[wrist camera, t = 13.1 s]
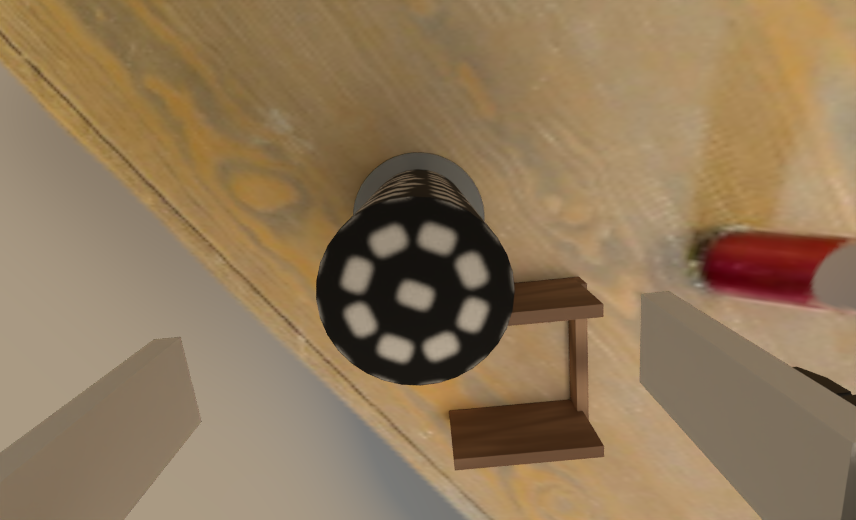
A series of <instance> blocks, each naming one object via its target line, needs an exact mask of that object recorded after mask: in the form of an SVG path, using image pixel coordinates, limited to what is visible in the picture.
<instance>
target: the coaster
mask: <svg viewBox="0 0 856 520" xmlns="http://www.w3.org/2000/svg"><path fill="white" fill-rule="evenodd" d="M415 169H421V170H429V171H433V172H437V173H439V174H441V175H443V176H445V177H446V178H448V179H449V180H450V181H451V182H453V183H454V184H455V186H456V187H457V188H458V189H459V190H460V191H461V193H462V194H463V195H464V196H465V198H466V199H467V200H468V201H469V203H470V204H471V205H472V206H473V208H474V209H475V210H476V211H477V213H478V214H479V215H480V216H481V218H482V219H483V220H484V208H483V203H482V199H481V196H480V194H479V191H478V189H477V187H476V185H475V184H474V182H473V181H472V179H471V178H470V177H469V176H468V174H467V173H466V172H465V171H464V170H463V169H462V168H460V167H459V166H458V165H456V164H455V163H453V162H451V161H450V160H448V159H446V158H443V157H441V156H438V155H434V154H430V153H408V154H403V155H399V156H396V157H394V158H392V159H389V160H387V161H386V162H384V163H382V164H381V165H379V166H378V167H377V168H376V169H375V170H373V171H372V172H371V174H370V175H369V176H368V177H367V178H366V180H365V181H364V182H363V184H362V186H361V188H360V190H359V192H358V194H357V197H356V200H355V204H354V209H353V215H354V214H355V213H356V212H357V211H358V210H359V209H360V208H361V207H362V206H363V205H364V204H365V202H366V201H367V200H368V199H369V198H370V197H371V196H372V195H373V194H374V193H375V192H376V191H377V190H378V189H379V188H380V187H381V186H382V185H383V184H384V183H385V182H386V181H387V180H388V179H390V178H392V177H393V176H395V175H397V174H399V173H402V172H404V171H408V170H415Z"/></svg>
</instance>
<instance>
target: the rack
mask: <svg viewBox="0 0 856 520" xmlns="http://www.w3.org/2000/svg"><path fill="white" fill-rule="evenodd" d="M514 289H515V294H514V303H513V311H512V314H511V317H510V320H509V323H508V326H512V325H522V324H533V323H543V322H554V321H565V320H569V358H570V400H561V401H550V402H539V403H528V404H517V405H507V406H496V407H485V408H474V409H463V410H452V411H449V415H450V426H451V436H452V446H453V456H454V466H455V470H464V469H475V468H486V467H497V466H508V465H519V464H530V463H541V462H552V461H564V460H575V459H586V458H597V457H604V445H603V444H602V442H601V440H600V439H599V437H598V435H597V434H596V432H595V430H594V429H593V427H592V425H591V424H590V422H589V416H588V342H587V318H597V317H603V303H601V302H600V301H599V300H598V299H597V298H596V297H595V296H594V295H592V294H591V293H590V292H589V291H588V290H587V283H585V282H584V281H583V280H582V279H581V278H580V277H573V278H563V279H552V280H542V281H531V282H521V283H514Z"/></svg>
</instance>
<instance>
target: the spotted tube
mask: <svg viewBox="0 0 856 520" xmlns="http://www.w3.org/2000/svg"><path fill="white" fill-rule="evenodd" d="M514 294H515V289H514V279H513V272H512V268H511V265H510V262H509V259H508V256H507V254H506V252H505V250H504V248H503V247H502V245H501V243H500V241H499V239H498V238H497V237H496V235H495V234H494V233H493V232H492V230H491V229H490V228H489V226H488V225H487V224H486V223H485V221H484V220H483V219H482V218H481V216H480V215H479V214H478V213H477V211H476V210H475V209H474V208H473V206H472V205H471V204H470V203H469V201H468V200H467V199H466V198H465V196H464V195H463V194H462V193H461V191H460V190H459V189H458V188H457V187H456V186H455V184H454V183H453V182H451V181H450V180H449V179H448V178H446V177H445V176H443V175H441V174H439V173H437V172H433V171H429V170H421V169H415V170H408V171H404V172H402V173H399V174H397V175H395V176H393V177H392V178H390V179H388V180H387V181H386V182H385V183H384V184H383V185H382V186H381V187H380V188H379V189H378V190H377V191H376V192H375V193H374V194H373V195H372V196H371V197H370V198H369V199H368V200H367V201H366V202H365V204H364V205H363V206H362V207H361V208H360V209H359V210H358V211H357V212H356V213H355V214H354V215H353V216H352V217H351V218H350V219H349V220H348V221H347V222H346V223H345V224H344V225H343V226H342V227H341V228H340V229H339V231H338V232H337V234H336V235H335V236H334V238H333V239H332V240H331V242H330V243H329V245H328V246H327V249H326V251H325V253H324V256H323V258H322V260H321V262H320V266H319V271H318V276H317V281H316V300H317V305H318V310H319V315H320V319H321V321H322V323H323V326H324V328H325V330H326V333H327V335H328V336H329V338H330V339H331V341H332V342H333V344H334V345H335V347H336V348H337V349H338V351H339V352H340V353H341V354H342V355H343V356H345V357H346V358H347V359H348V360H349V361H350V362H351V363H352V364H353V365H355V366H356V367H358V368H359V369H361V370H362V371H364V372H365V373H367V374H370V375H372V376H374V377H377V378H379V379H381V380H384V381H388V382H393V383H397V384H401V385H427V384H434V383H440V382H443V381H446V380H449V379H452V378H455V377H458V376H459V375H461V374H463V373H465V372H467V371H469V370H471V369H472V368H474V367H475V366H476V365H477V364H479V363H480V362H481V361H482V360H484V359H485V358H486V357H487V356H488V355H489V354H490V352H491V351H492V350H493V349H494V348H495V347H496V345H497V344H498V343H499V341H500V339H501V337H502V336H503V334H504V332H505V330H506V329H507V326H508V323H509V320H510V317H511V314H512V311H513V303H514Z"/></svg>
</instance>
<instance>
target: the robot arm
mask: <svg viewBox="0 0 856 520" xmlns="http://www.w3.org/2000/svg"><path fill="white" fill-rule="evenodd" d="M640 383H641V384H642V385H643V386H644V387H645V388H646V390H647V391H648V392H649V393H650V394H651V395H652V396H653V397H654V399H655V400H656V401H657V402H658V403H659V404H660V405H661V406H662V407H663V409H664V410H665V411H666V412H667V413H668V414H669V415H670V416H671V418H672V419H673V420H674V421H675V422H676V423H677V424H678V425H679V427H680V428H681V429H682V430H683V431H684V432H685V433H686V434H687V435H688V437H689V438H690V439H691V440H692V441H693V442H694V443H695V444H696V446H697V447H698V448H699V449H700V450H701V451H702V452H703V453H704V454H705V456H706V457H707V458H708V459H709V460H710V461H711V462H712V463H713V465H714V466H715V467H716V468H717V469H718V470H719V471H720V472H721V474H722V475H723V476H724V477H725V478H726V479H727V480H728V481H729V482H730V484H731V485H732V486H733V487H734V488H735V489H736V490H737V491H738V493H739V494H740V495H741V496H742V497H743V498H744V499H745V500H746V501H747V503H748V504H749V505H750V506H751V507H752V508H753V509H754V510H755V512H756V513H757V514H758V515H759V516H760V517H761V518H762V519H763V520H856V395H852V394H851V392H850V391H849V390H847V389H845V388H843V387H842V386H840V385H838V384H837V383H835V382H833V381H832V380H830V379H828V378H826V377H823V376H821V375H818V374H815V373H813V372H810V371H807V370H804V369H802V368H799V367H791V366H789V365H788V364H786V363H784V362H783V361H781V360H780V359H778V358H776V357H775V356H773V355H771V354H770V353H768V352H767V351H765V350H763V349H762V348H760V347H758V346H757V345H755V344H754V343H752V342H750V341H749V340H747V339H745V338H744V337H742V336H741V335H739V334H737V333H736V332H734V331H732V330H731V329H729V328H728V327H726V326H724V325H723V324H721V323H720V322H718V321H716V320H715V319H713V318H711V317H710V316H708V315H707V314H705V313H703V312H702V311H700V310H698V309H697V308H695V307H694V306H692V305H690V304H689V303H687V302H685V301H684V300H682V299H681V298H679V297H677V296H676V295H674V294H672V293H671V292H669V291H666V292H655V293H644V294H641V338H640ZM200 423H201V417H200V413H199V409H198V405H197V401H196V397H195V393H194V389H193V385H192V382H191V377H190V373H189V369H188V366H187V361H186V357H185V353H184V349H183V345H182V341H181V337H174V338H163V339H154V340H153V341H151V342H150V343H149V344H147V345H146V346H144V347H143V348H142V349H140V350H139V351H138V352H136V353H135V354H134V355H132V356H131V357H129V358H128V359H127V360H125V361H124V362H123V363H122V364H120V365H119V366H117V367H116V368H115V369H113V370H112V371H111V372H109V373H108V374H107V375H105V376H104V377H102V378H101V379H100V380H98V381H97V382H96V383H94V384H93V385H91V386H90V387H89V388H87V389H86V390H85V391H83V392H82V393H81V394H79V395H78V396H77V397H75V398H74V399H73V400H71V401H70V402H69V403H67V404H66V405H64V406H63V407H62V408H60V409H59V410H58V411H56V412H55V413H53V414H52V415H51V416H49V417H48V418H47V419H45V420H44V421H43V422H41V423H40V424H39V425H37V426H36V427H35V428H33V429H32V430H31V431H29V432H28V433H27V434H25V435H24V436H22V437H21V438H20V439H18V440H17V441H15V442H14V443H13V444H11V445H10V446H9V447H8V448H6V449H5V450H3V451H2V452H1V453H0V520H124V519H125V518H126V516H127V515H128V514H129V513H130V511H131V510H132V509H133V508H134V506H135V505H136V504H137V502H138V501H139V500H140V499H141V497H142V496H143V495H144V494H145V492H146V491H147V490H148V489H149V487H150V486H151V485H152V484H153V482H154V481H155V480H156V478H157V477H158V476H159V475H160V473H161V472H162V471H163V470H164V468H165V467H166V466H167V465H168V463H169V462H170V461H171V459H172V458H173V457H174V456H175V454H176V453H177V452H178V451H179V449H180V448H181V447H182V446H183V444H184V443H185V442H186V441H187V439H188V438H189V437H190V435H191V434H192V433H193V432H194V430H195V429H196V428H197V427H198V425H199V424H200Z"/></svg>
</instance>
